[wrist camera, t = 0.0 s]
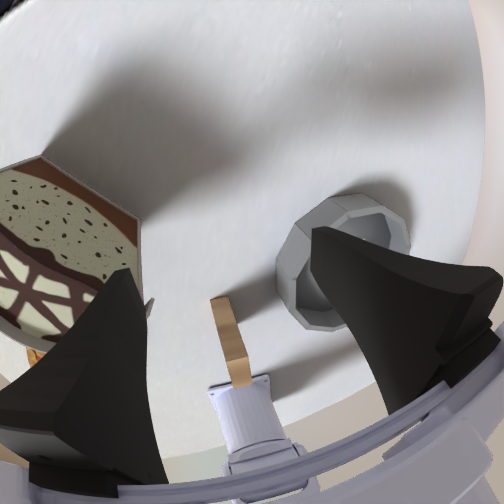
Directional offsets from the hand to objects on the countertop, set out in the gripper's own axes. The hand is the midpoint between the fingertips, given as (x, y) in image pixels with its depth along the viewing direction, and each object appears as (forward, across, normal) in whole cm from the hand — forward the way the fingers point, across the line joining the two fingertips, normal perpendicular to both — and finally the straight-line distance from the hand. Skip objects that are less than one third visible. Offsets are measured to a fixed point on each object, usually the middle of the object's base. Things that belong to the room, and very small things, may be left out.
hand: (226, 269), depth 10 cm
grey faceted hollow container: (+10, -12, +9) cm, 18 cm away
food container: (+10, +10, 0) cm, 14 cm away
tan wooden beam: (+10, 0, +12) cm, 16 cm away
